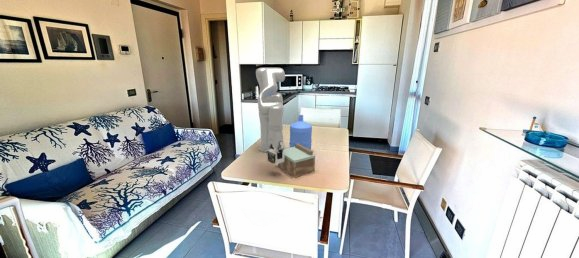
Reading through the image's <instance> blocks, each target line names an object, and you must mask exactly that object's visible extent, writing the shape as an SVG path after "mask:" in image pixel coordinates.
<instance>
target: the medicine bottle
mask: <svg viewBox="0 0 579 258" xmlns="http://www.w3.org/2000/svg"><path fill="white" fill-rule="evenodd" d="M279 147H280V146H279ZM279 150H280V148H279ZM266 153H267V162H269V163H271V164H273V165H274V166H278V164H279V163H281V162H284V150H283V152H282V158H281V159H277V153H278V151H277V149H275V148H273V146H272V144H271V149H269V150H267V152H266Z"/></svg>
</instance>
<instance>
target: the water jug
mask: <svg viewBox="0 0 579 258" xmlns="http://www.w3.org/2000/svg"><path fill="white" fill-rule="evenodd" d="M312 131H313V125H312V124H310V123H308V122H306V121H304V115H303V114H299V115H298V120H297V121H295V122H293V123H290V125H289V148H291V147H295V144H297V143H298V144H300V145H302V146H304V147H306V148H308V149H310V150H312V135H313V134H312V133H313V132H312Z"/></svg>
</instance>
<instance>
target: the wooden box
mask: <svg viewBox="0 0 579 258" xmlns="http://www.w3.org/2000/svg"><path fill="white" fill-rule="evenodd" d="M315 163H316V157H315V158H312V159H308V160H304V161H300V162H297V163H293V162H292V161H290V160H288V159H287V158H285V157H284V162H281V163H279V164H277V166H278V167H279V168H280V169H281V170H283V171H284V172H286V174H288V175H289V176H290V177H292V178H294V179H295V178H297V177H301V176H305V175H308V174H311V173H314V172H315V168H316V167H315V165H316V164H315Z"/></svg>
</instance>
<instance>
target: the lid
mask: <svg viewBox="0 0 579 258" xmlns="http://www.w3.org/2000/svg"><path fill="white" fill-rule="evenodd" d="M284 157H285V158H287V159H288V160H290V161H292V162H293V163H297V162H300V161H304V160H308V159H312V158H315V159H316V154H314V150H312V149H311V150H310V149H308V148H306V147H304V146H302V145H300V144H298V143H297V144H295V147H291V148H290V147H287V148H284Z"/></svg>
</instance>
